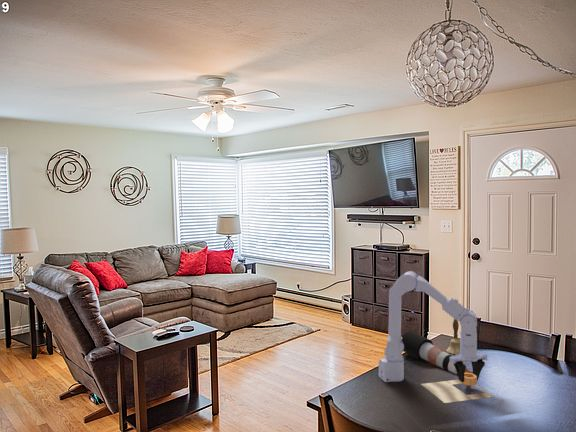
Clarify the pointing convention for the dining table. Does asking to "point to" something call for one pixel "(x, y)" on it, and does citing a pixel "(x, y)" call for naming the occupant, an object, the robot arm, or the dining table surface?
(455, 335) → the hand bell
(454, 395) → the cream flat rectangular board
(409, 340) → the cable
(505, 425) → the dining table surface
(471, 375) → the orange hexagonal nut
